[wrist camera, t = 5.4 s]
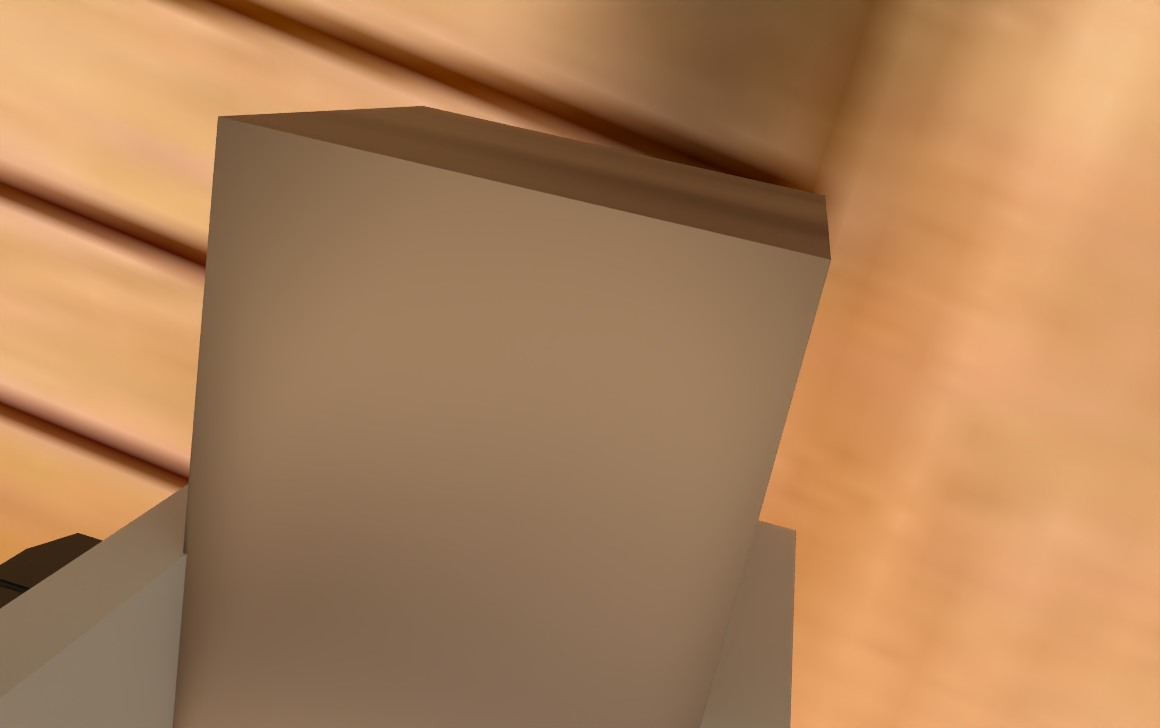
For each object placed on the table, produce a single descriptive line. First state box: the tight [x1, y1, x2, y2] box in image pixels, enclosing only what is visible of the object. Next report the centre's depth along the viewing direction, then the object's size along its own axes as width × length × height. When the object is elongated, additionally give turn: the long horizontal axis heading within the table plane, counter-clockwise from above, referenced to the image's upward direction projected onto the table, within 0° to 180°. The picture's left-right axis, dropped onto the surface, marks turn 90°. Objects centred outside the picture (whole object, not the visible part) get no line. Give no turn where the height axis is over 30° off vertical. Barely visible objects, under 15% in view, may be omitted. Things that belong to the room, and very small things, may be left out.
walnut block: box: [172, 106, 831, 728], centre depth 11 cm, size 11×5×4 cm, turn 168°
